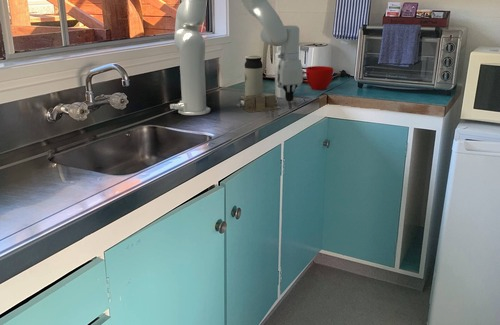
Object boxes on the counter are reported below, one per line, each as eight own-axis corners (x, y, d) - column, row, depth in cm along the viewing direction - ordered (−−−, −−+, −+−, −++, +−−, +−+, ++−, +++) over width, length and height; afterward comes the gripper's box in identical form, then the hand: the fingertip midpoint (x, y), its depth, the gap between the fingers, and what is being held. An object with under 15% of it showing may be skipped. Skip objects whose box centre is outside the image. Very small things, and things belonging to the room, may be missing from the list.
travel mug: (263, 94, 231) (263, 55, 225) (261, 98, 224) (261, 57, 218) (246, 94, 232) (245, 55, 226) (244, 98, 224) (243, 57, 219)
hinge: (249, 112, 199) (249, 100, 197) (236, 106, 210) (235, 94, 208) (280, 108, 204) (280, 96, 203) (266, 102, 215) (266, 91, 214)
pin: (243, 108, 202) (243, 100, 201) (239, 106, 205) (239, 98, 204) (277, 104, 209) (277, 96, 208) (274, 102, 212) (274, 95, 210)
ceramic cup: (293, 88, 245) (293, 67, 242) (322, 85, 252) (323, 65, 249) (307, 93, 234) (307, 71, 231) (337, 89, 241) (338, 68, 238)
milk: (274, 95, 229) (274, 46, 222) (286, 94, 231) (287, 45, 224) (280, 98, 224) (280, 47, 217) (292, 97, 226) (293, 47, 219)
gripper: (278, 59, 200) (277, 104, 206) (310, 56, 206) (309, 100, 212) (269, 57, 207) (269, 100, 213) (300, 54, 213) (300, 97, 219)
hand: (289, 100), depth 213 cm, fingers closed
